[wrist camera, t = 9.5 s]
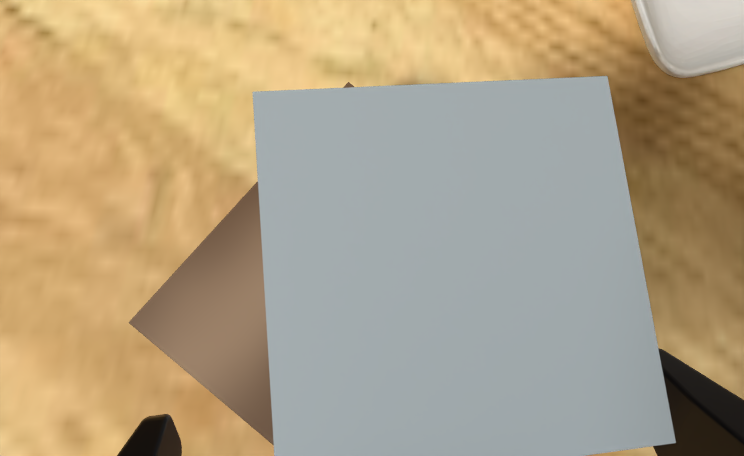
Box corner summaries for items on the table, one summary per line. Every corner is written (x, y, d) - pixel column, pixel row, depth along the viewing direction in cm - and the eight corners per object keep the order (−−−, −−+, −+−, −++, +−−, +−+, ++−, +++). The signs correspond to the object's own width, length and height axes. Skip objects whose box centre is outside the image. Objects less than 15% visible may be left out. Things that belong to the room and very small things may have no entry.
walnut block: (542, 282, 23) (587, 275, 19) (382, 505, 21) (396, 549, 17) (343, 121, 23) (348, 82, 20) (164, 321, 21) (128, 322, 17)
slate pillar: (444, 360, 18) (676, 443, 6) (306, 375, 17) (277, 498, 6) (429, 225, 19) (607, 76, 7) (296, 236, 18) (253, 91, 7)
